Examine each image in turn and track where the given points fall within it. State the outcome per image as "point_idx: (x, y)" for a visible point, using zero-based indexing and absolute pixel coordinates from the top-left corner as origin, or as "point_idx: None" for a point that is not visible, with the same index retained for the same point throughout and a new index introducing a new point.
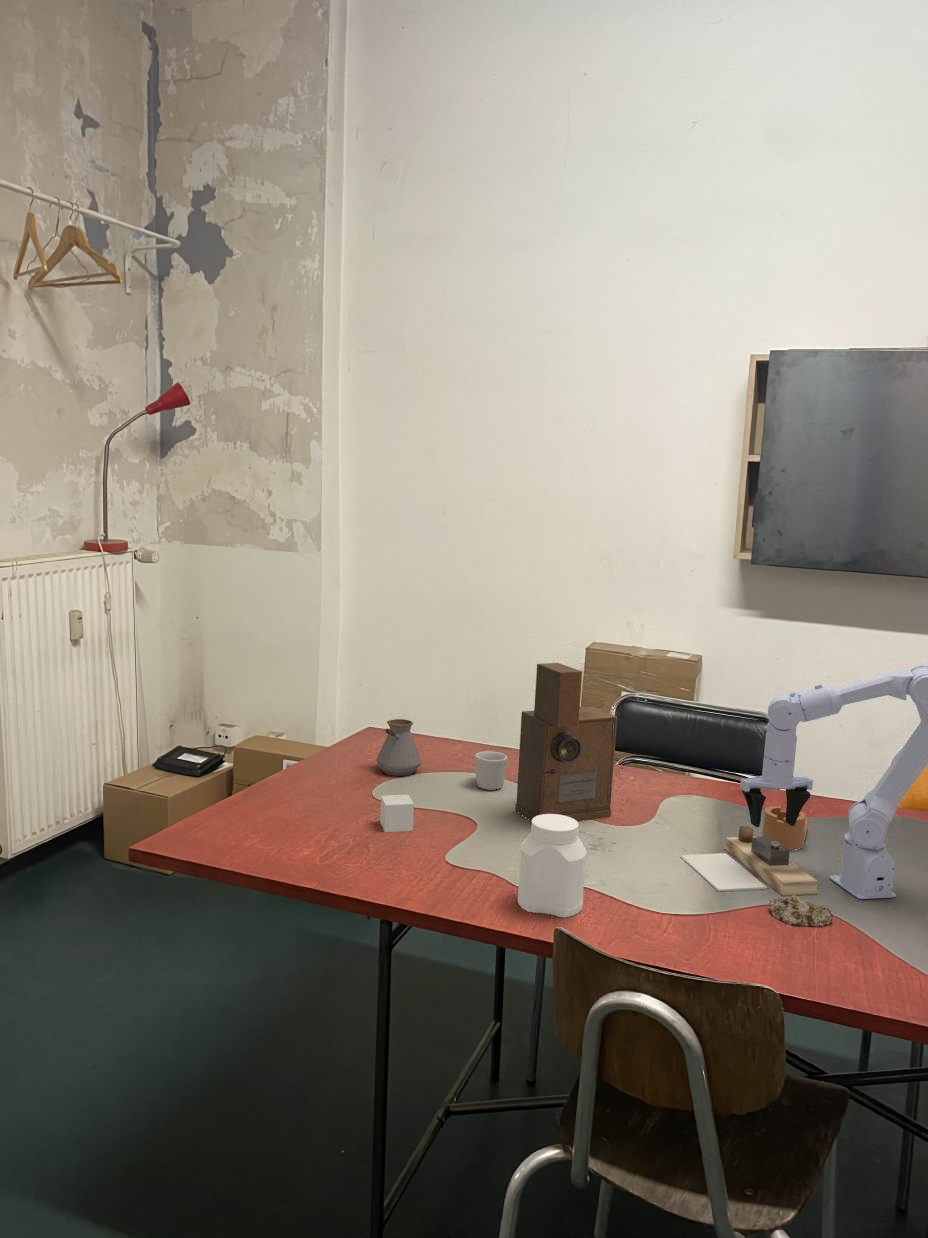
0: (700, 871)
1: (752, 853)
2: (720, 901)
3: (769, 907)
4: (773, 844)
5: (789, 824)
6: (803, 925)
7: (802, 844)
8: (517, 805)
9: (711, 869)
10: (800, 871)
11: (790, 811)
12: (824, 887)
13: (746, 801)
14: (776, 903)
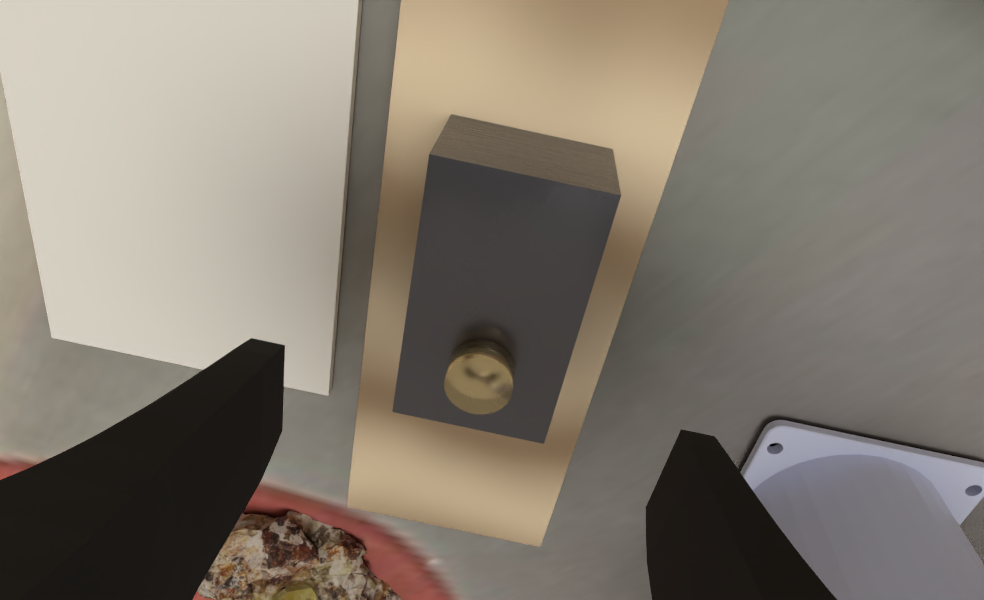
0: (23, 119)
1: None
2: (36, 401)
3: None
4: (447, 394)
5: (657, 482)
6: None
7: None
8: None
9: (110, 116)
10: (546, 453)
11: (694, 596)
12: (647, 464)
13: (4, 482)
14: (200, 585)
